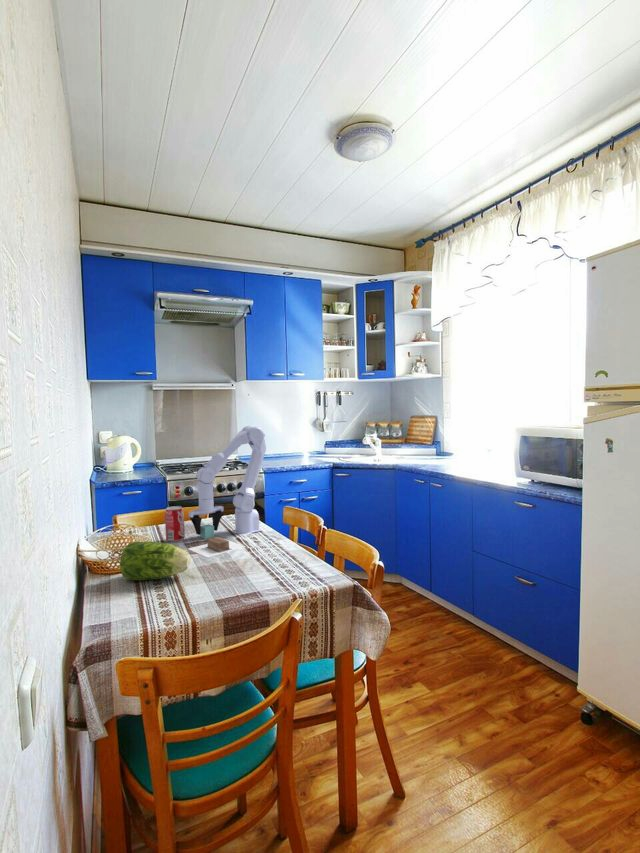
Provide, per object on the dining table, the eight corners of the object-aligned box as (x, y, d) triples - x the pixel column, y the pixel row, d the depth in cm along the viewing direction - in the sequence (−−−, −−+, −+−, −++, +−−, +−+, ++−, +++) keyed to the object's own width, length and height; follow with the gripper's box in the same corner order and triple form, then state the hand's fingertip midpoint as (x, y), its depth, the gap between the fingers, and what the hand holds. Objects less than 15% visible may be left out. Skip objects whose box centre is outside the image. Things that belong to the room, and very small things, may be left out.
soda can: (181, 543, 176) (180, 509, 175) (163, 543, 176) (161, 509, 175) (187, 537, 183) (186, 505, 182) (169, 538, 183) (168, 505, 182)
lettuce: (185, 585, 134) (183, 547, 133) (114, 586, 134) (113, 548, 133) (195, 571, 145) (194, 536, 145) (131, 572, 145) (129, 537, 145)
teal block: (209, 536, 184) (208, 524, 184) (214, 538, 181) (214, 526, 181) (200, 538, 181) (199, 526, 181) (205, 540, 178) (205, 528, 178)
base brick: (217, 544, 171) (216, 536, 170) (229, 549, 165) (228, 541, 165) (207, 547, 168) (207, 539, 168) (219, 551, 162) (219, 543, 162)
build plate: (224, 540, 178) (224, 539, 178) (246, 548, 168) (246, 546, 168) (187, 550, 166) (187, 548, 166) (207, 559, 156) (207, 557, 156)
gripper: (216, 494, 188) (217, 526, 189) (184, 499, 178) (185, 533, 179) (226, 496, 183) (226, 529, 184) (193, 502, 173) (194, 537, 174)
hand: (206, 532), depth 181 cm, fingers open, 7 cm apart
